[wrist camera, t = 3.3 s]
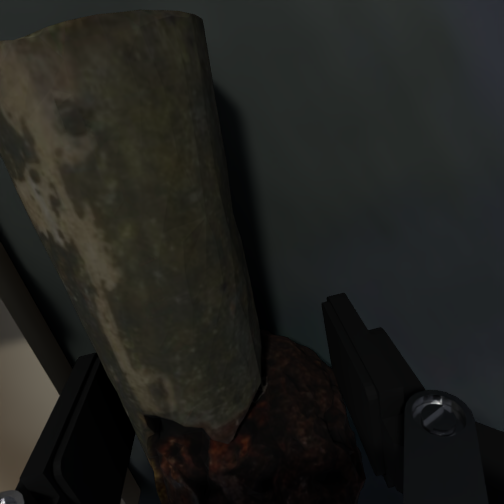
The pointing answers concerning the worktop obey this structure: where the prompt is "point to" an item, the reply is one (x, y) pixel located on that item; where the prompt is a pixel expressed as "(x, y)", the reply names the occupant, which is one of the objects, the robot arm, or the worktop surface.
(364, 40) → the worktop surface
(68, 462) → the robot arm
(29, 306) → the pipe cradle
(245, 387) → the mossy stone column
